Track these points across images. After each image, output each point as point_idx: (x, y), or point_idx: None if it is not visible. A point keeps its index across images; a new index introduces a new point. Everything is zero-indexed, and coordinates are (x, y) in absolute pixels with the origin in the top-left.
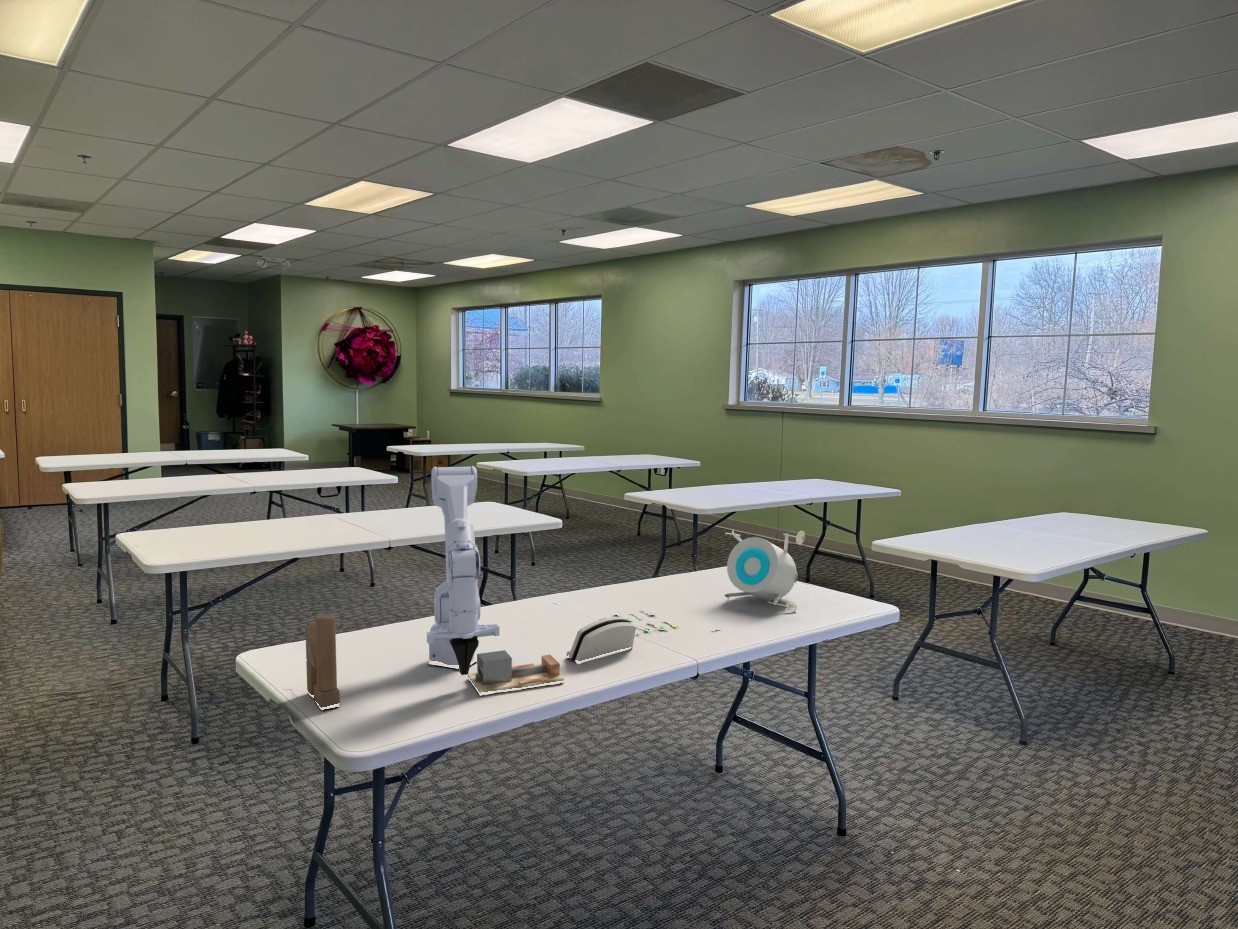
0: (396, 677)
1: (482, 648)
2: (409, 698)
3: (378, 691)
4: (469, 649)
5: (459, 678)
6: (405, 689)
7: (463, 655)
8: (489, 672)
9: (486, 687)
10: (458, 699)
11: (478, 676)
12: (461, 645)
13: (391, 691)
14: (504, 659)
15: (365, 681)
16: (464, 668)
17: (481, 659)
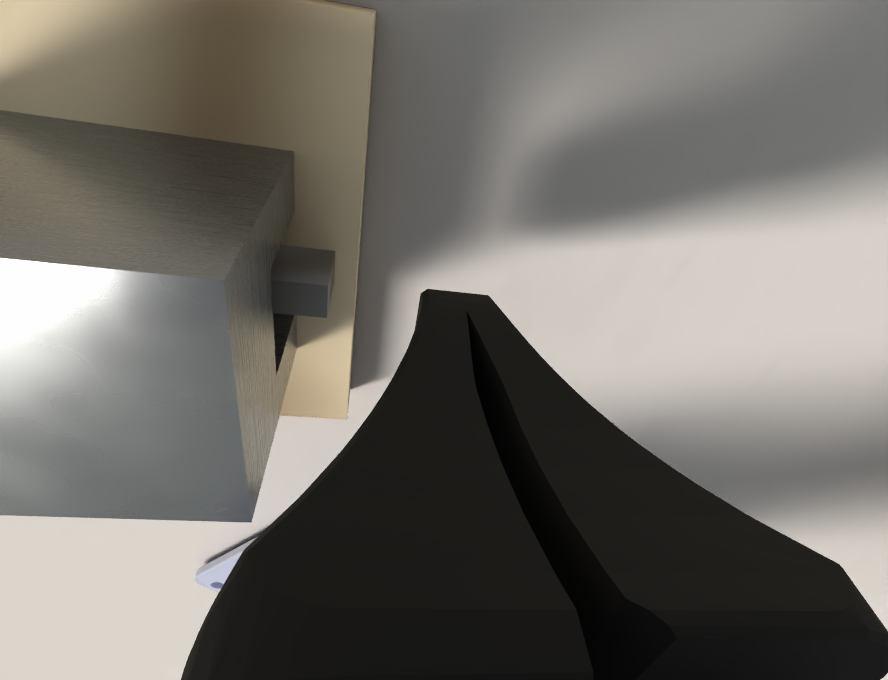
0: None
1: (172, 643)
2: (823, 282)
3: (845, 435)
4: (470, 508)
5: None
6: (733, 406)
7: (550, 437)
8: (179, 190)
9: (274, 77)
10: (578, 65)
11: (308, 275)
12: (764, 633)
13: (804, 412)
14: None
15: (786, 535)
16: (481, 321)
17: (233, 366)
